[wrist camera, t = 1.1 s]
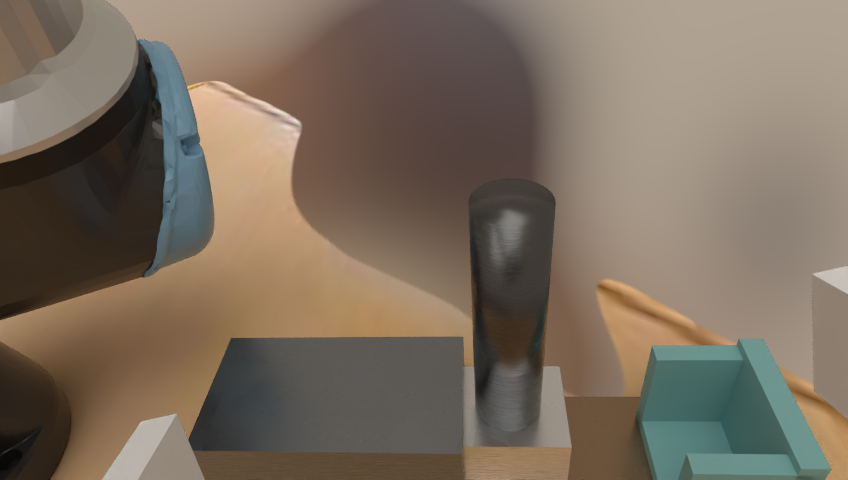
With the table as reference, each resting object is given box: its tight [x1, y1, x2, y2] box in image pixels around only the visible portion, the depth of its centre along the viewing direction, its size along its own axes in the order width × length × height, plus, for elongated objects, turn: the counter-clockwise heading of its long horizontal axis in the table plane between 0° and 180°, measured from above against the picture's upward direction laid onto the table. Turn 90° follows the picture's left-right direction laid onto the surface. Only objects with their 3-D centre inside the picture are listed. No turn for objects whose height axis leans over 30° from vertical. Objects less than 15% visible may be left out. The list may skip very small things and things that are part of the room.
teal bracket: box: [636, 339, 831, 480], centre depth 30 cm, size 6×7×6 cm
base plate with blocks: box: [188, 337, 653, 480], centre depth 32 cm, size 29×10×8 cm, turn 87°
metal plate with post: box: [463, 179, 572, 480], centre depth 28 cm, size 16×5×17 cm, turn 87°
